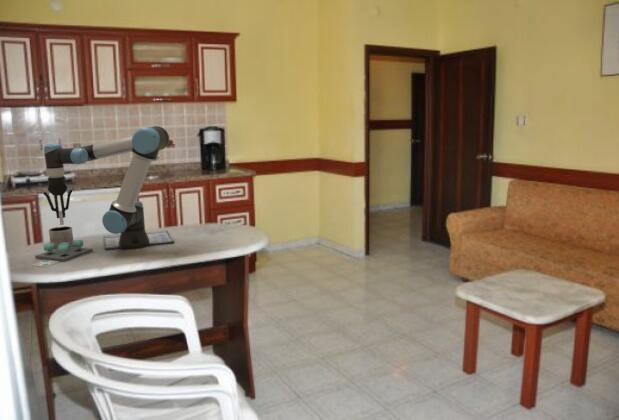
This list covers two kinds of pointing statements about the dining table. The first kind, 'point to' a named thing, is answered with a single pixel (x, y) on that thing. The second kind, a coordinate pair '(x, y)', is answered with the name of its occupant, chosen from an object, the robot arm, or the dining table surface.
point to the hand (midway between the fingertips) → (62, 224)
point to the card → (45, 263)
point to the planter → (61, 235)
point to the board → (64, 257)
